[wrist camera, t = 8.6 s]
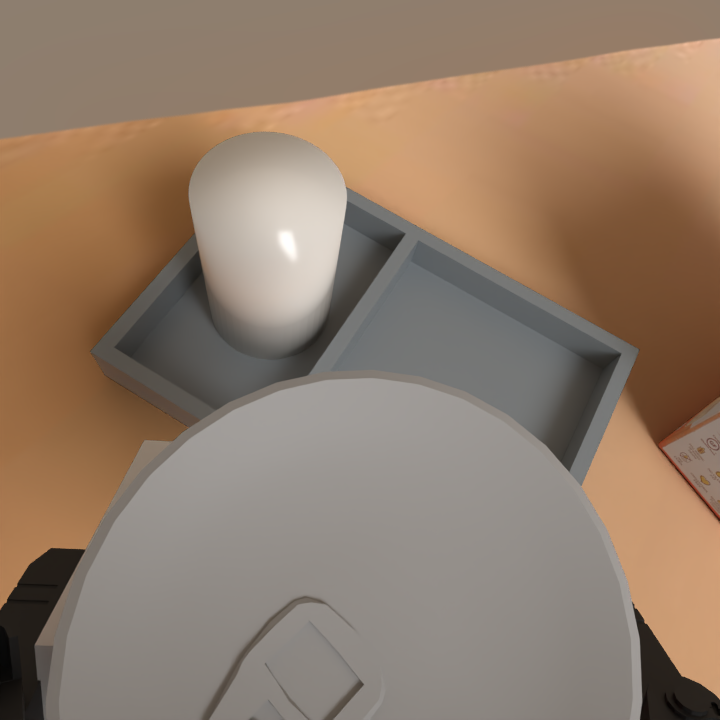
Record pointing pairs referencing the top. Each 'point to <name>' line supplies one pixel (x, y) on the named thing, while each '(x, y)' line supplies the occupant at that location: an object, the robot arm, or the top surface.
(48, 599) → the robot arm
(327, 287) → the ceramic jar
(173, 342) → the caddy
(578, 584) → the canned food
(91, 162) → the top surface
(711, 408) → the cracker box
